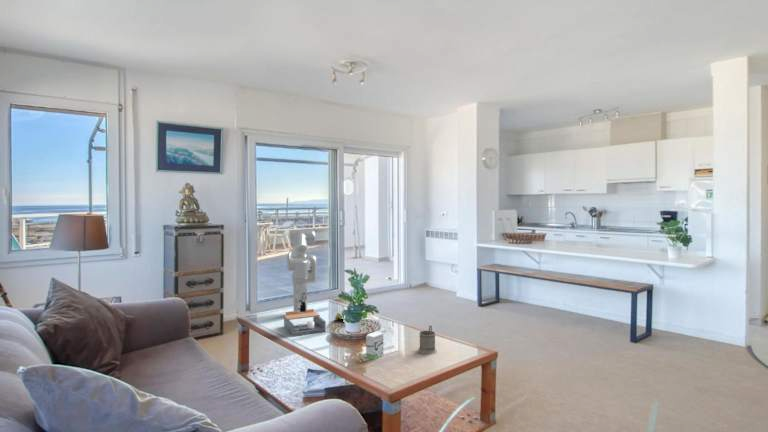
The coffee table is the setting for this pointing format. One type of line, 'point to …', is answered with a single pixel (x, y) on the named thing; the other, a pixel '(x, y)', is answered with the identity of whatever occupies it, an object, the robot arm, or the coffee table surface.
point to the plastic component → (338, 316)
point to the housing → (306, 327)
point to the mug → (427, 342)
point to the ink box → (374, 345)
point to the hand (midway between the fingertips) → (301, 310)
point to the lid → (300, 314)
